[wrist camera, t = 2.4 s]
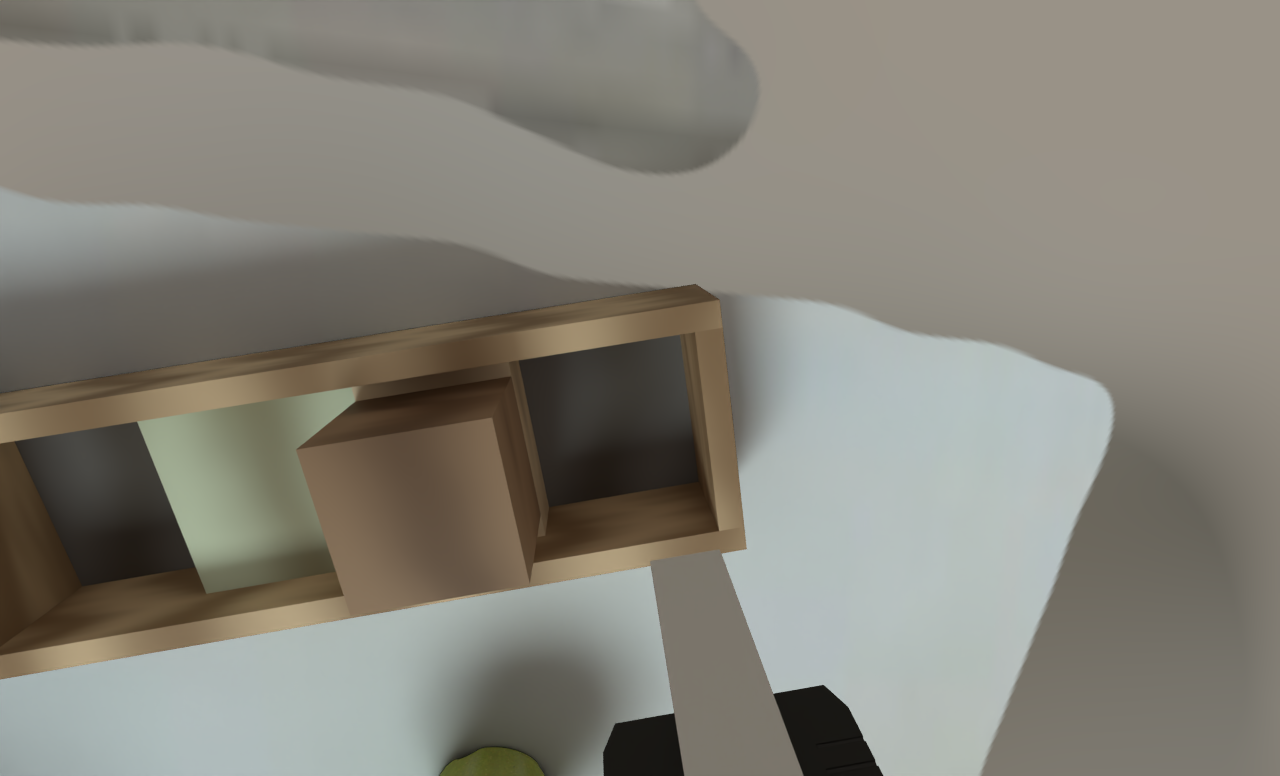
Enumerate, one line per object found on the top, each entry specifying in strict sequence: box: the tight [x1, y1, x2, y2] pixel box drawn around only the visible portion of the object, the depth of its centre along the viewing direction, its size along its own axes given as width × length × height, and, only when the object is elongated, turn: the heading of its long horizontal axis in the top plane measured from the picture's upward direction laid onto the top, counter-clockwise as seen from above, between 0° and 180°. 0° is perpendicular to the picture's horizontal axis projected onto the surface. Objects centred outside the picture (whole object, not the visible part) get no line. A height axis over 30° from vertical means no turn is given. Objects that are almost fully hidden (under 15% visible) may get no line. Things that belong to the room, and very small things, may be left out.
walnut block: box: [296, 376, 541, 616], centre depth 22 cm, size 6×6×5 cm
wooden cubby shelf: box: [0, 284, 747, 679], centre depth 25 cm, size 30×10×5 cm, turn 98°
